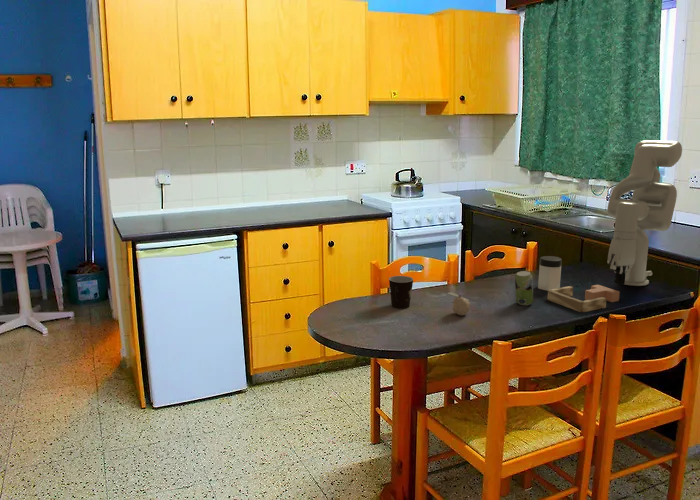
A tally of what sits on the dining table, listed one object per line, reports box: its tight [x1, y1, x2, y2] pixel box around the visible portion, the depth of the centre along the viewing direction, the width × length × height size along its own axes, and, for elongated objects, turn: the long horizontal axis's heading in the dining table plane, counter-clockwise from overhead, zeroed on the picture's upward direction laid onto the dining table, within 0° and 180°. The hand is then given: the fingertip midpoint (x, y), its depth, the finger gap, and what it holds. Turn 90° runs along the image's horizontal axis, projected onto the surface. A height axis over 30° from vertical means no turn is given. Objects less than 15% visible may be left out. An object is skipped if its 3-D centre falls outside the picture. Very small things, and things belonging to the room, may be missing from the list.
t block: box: [584, 284, 621, 303], centre depth 238 cm, size 10×10×4 cm
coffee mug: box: [388, 275, 414, 310], centre depth 228 cm, size 12×9×10 cm
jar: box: [537, 255, 563, 292], centre depth 250 cm, size 9×8×12 cm
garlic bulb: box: [451, 294, 471, 317], centre depth 220 cm, size 7×6×8 cm
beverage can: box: [514, 270, 534, 306], centre depth 231 cm, size 6×7×12 cm
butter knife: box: [447, 291, 469, 301], centre depth 236 cm, size 1×24×3 cm
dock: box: [546, 285, 607, 313], centre depth 232 cm, size 12×17×4 cm
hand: (619, 283), depth 241 cm, fingers closed
